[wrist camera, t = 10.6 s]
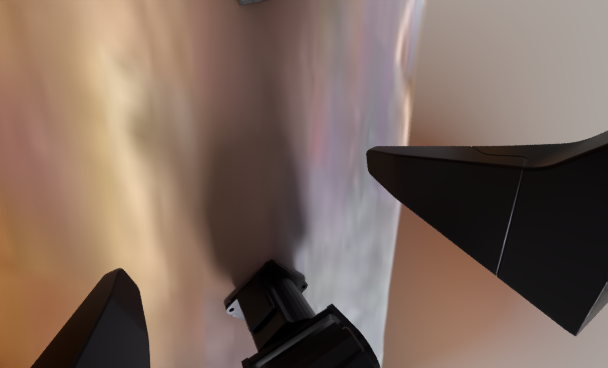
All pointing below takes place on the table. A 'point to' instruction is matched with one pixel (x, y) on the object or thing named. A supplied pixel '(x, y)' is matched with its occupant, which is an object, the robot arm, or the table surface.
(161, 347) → the table surface
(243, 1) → the mat
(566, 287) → the robot arm
